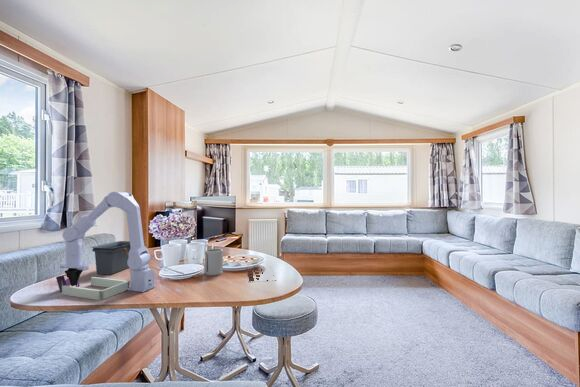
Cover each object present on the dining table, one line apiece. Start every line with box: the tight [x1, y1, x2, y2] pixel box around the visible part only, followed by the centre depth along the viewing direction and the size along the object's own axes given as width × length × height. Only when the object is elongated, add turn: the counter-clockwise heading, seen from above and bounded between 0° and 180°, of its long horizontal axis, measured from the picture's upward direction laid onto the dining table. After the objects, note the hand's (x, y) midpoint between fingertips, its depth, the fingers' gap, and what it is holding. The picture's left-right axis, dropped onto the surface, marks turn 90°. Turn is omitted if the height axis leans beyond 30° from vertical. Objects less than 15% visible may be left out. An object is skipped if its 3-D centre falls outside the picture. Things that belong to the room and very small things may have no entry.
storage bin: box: [91, 240, 131, 275], centre depth 161 cm, size 21×16×14 cm
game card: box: [55, 274, 81, 293], centre depth 131 cm, size 7×5×9 cm
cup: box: [204, 248, 224, 276], centre depth 158 cm, size 9×9×12 cm
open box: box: [61, 276, 130, 301], centre depth 128 cm, size 21×14×4 cm, turn 73°
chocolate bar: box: [246, 268, 263, 282], centre depth 157 cm, size 27×14×1 cm, turn 10°
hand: (74, 285), depth 132 cm, fingers closed
